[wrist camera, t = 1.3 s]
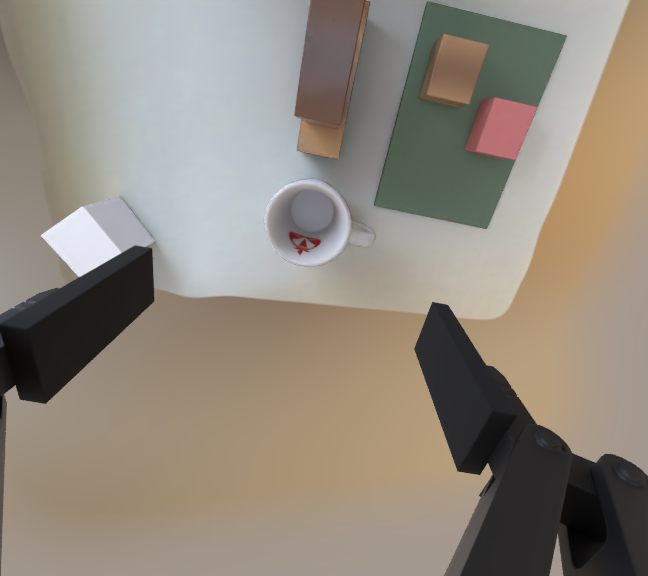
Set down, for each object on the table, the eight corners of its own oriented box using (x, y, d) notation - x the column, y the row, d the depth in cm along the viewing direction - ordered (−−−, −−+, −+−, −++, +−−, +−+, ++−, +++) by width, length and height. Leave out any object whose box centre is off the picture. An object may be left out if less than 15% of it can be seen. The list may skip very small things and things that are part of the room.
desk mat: (426, 2, 29) (427, 1, 29) (564, 36, 30) (567, 35, 29) (374, 204, 36) (374, 205, 36) (485, 228, 37) (486, 229, 37)
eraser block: (481, 100, 32) (495, 97, 29) (520, 109, 32) (538, 106, 29) (464, 150, 34) (475, 151, 31) (501, 158, 34) (515, 160, 31)
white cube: (120, 196, 37) (82, 205, 31) (155, 241, 39) (126, 257, 34) (82, 221, 38) (40, 235, 33) (118, 264, 40) (84, 283, 35)
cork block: (433, 42, 30) (443, 33, 27) (475, 52, 30) (489, 44, 27) (418, 98, 32) (426, 94, 29) (457, 107, 32) (469, 104, 29)
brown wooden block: (322, 6, 29) (313, -91, 17) (366, 17, 30) (389, -72, 17) (300, 149, 34) (280, 155, 22) (337, 157, 35) (339, 168, 22)
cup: (382, 192, 36) (394, 206, 29) (358, 258, 39) (363, 285, 32) (287, 161, 35) (275, 168, 28) (270, 231, 38) (255, 254, 31)
